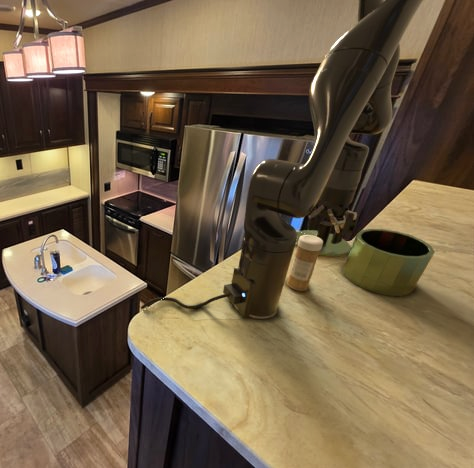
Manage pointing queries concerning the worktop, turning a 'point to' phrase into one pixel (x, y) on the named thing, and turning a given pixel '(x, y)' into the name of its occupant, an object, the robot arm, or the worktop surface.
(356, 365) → the worktop surface
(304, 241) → the sprinkles bottle
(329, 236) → the bin lid
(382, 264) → the bin
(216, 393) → the worktop surface
